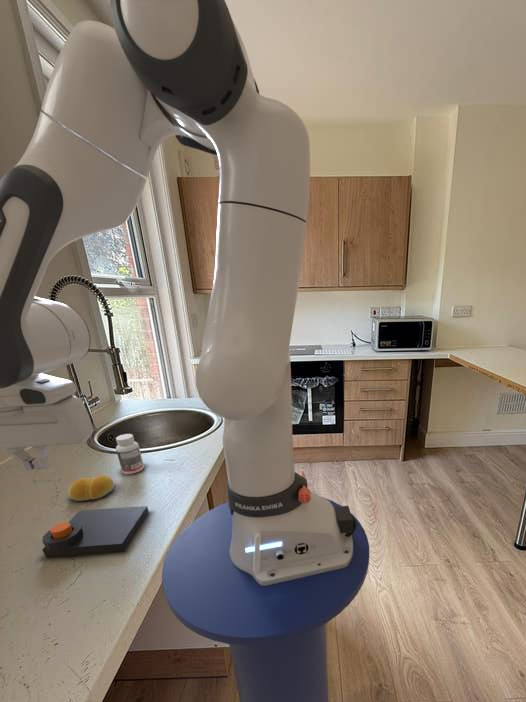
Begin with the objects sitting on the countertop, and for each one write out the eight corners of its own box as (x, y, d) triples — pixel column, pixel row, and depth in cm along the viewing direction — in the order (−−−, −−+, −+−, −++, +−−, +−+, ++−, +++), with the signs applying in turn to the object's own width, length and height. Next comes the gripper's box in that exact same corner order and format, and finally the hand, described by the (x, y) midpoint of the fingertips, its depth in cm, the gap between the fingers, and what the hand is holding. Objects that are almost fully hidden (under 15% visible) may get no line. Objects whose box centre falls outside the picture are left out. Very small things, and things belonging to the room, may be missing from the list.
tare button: (75, 528, 66) (73, 521, 66) (66, 538, 64) (63, 531, 63) (59, 529, 66) (56, 522, 66) (49, 539, 63) (46, 532, 63)
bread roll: (111, 497, 82) (106, 483, 80) (67, 505, 79) (61, 490, 78) (118, 480, 89) (114, 466, 87) (77, 487, 86) (73, 473, 85)
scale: (149, 513, 76) (145, 499, 74) (123, 553, 64) (118, 538, 63) (80, 517, 75) (75, 504, 73) (41, 559, 63) (34, 544, 62)
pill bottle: (124, 467, 96) (115, 434, 92) (145, 463, 97) (137, 431, 94) (120, 476, 91) (110, 442, 87) (143, 472, 93) (134, 439, 89)
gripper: (-85, 399, 51) (-44, 481, 56) (61, 392, 52) (88, 473, 57) (-47, 387, 56) (-12, 463, 62) (85, 381, 58) (107, 456, 63)
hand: (37, 468), depth 60 cm, fingers closed
